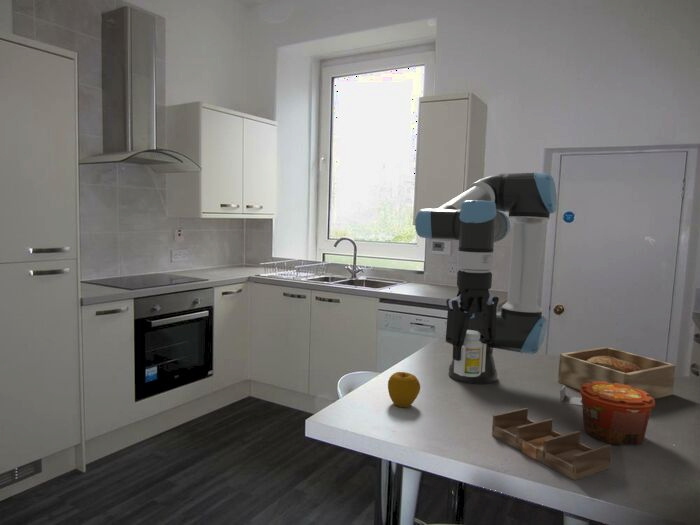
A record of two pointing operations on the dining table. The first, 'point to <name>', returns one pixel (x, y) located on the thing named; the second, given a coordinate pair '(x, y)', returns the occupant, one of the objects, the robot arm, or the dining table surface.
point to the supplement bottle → (473, 353)
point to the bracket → (573, 400)
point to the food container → (615, 412)
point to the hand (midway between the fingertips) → (469, 371)
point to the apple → (403, 388)
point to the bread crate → (650, 379)
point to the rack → (550, 444)
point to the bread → (614, 364)
